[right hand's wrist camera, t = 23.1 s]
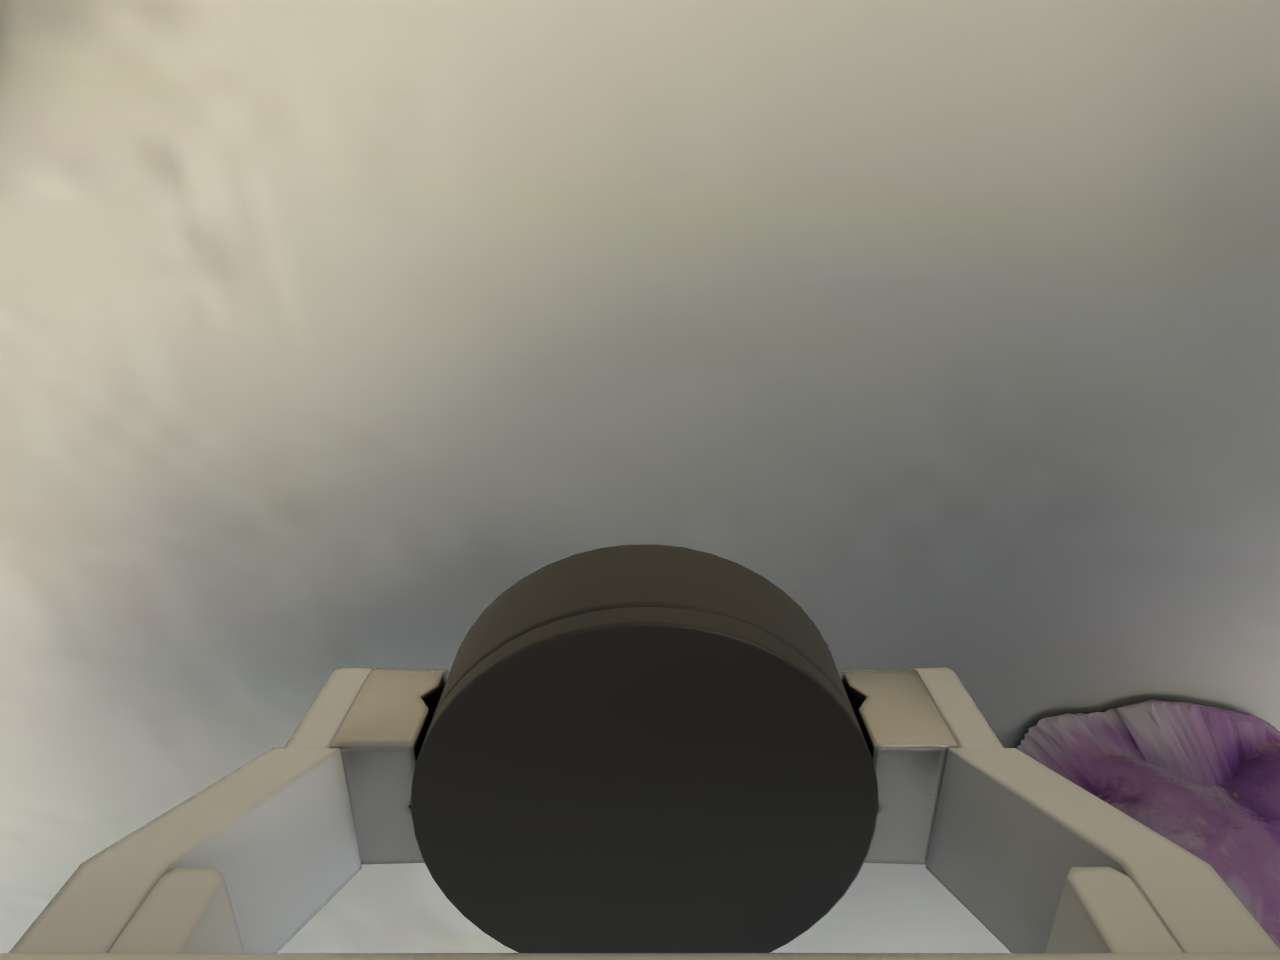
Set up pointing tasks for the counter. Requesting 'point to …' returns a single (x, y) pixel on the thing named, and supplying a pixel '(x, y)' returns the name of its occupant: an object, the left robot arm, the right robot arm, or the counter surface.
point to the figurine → (1183, 784)
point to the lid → (644, 762)
